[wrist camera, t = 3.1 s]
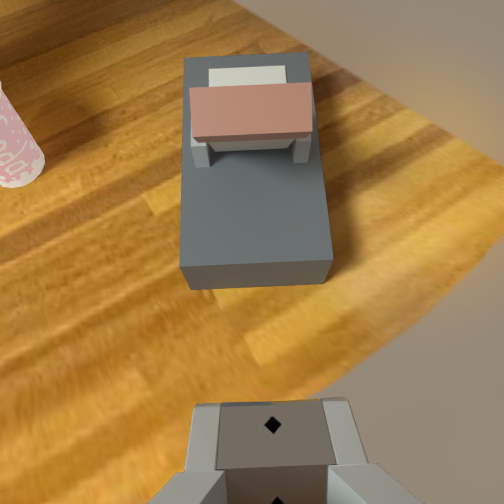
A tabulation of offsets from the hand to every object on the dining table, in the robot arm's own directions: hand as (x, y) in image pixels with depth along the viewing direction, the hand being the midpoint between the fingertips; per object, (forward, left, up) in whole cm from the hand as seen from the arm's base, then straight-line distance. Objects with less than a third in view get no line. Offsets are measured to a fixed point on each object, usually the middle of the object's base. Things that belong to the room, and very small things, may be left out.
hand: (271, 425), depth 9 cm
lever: (0, +19, -16) cm, 25 cm away
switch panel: (0, +19, -22) cm, 29 cm away
